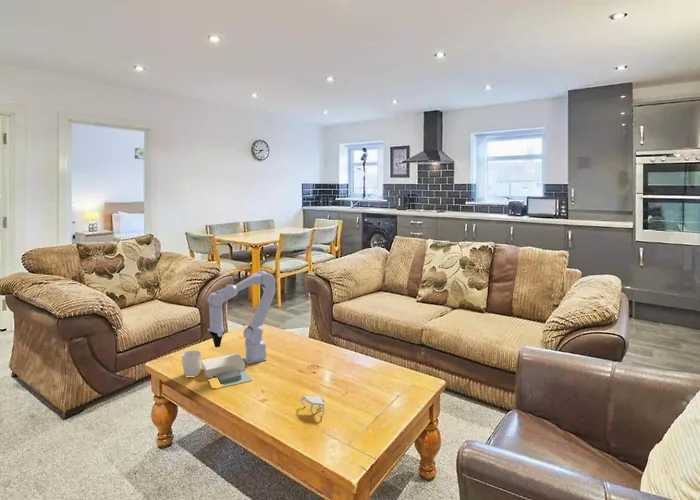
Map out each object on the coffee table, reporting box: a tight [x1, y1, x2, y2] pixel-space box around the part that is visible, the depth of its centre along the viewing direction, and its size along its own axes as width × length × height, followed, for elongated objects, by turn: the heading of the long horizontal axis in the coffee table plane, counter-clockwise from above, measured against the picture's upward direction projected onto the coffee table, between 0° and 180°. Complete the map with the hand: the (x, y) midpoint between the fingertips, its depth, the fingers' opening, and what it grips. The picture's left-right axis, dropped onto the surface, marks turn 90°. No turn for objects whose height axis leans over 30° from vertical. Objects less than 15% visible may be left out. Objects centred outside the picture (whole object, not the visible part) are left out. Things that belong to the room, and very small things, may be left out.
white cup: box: [181, 350, 202, 377], centre depth 188 cm, size 8×8×10 cm
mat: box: [222, 370, 253, 388], centre depth 184 cm, size 17×11×1 cm, turn 119°
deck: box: [201, 352, 246, 378], centre depth 194 cm, size 17×12×4 cm
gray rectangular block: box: [216, 370, 241, 384], centre depth 184 cm, size 9×6×2 cm, turn 119°
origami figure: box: [300, 395, 326, 417], centre depth 159 cm, size 12×8×5 cm
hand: (217, 346), depth 195 cm, fingers closed
